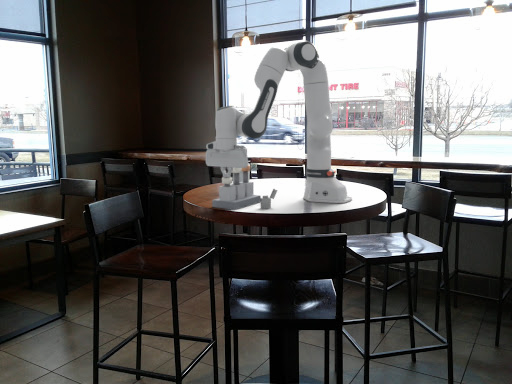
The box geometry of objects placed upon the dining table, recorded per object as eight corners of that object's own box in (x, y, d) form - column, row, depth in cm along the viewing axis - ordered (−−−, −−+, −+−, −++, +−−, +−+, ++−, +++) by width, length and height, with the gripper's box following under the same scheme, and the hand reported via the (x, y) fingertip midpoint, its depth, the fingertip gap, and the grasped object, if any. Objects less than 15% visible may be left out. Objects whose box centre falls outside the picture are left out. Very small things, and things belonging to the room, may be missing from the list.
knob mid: (243, 187, 196) (243, 166, 195) (238, 189, 193) (237, 167, 191) (235, 187, 199) (235, 166, 197) (229, 188, 195) (229, 167, 194)
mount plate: (260, 202, 202) (260, 182, 200) (234, 209, 185) (234, 188, 184) (239, 199, 208) (238, 180, 207) (212, 206, 192) (211, 186, 190)
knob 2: (252, 185, 202) (252, 165, 201) (247, 187, 199) (246, 166, 197) (244, 185, 205) (244, 164, 203) (239, 186, 201) (238, 165, 199)
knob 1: (234, 199, 191) (234, 177, 190) (228, 200, 188) (228, 178, 186) (226, 198, 194) (226, 176, 192) (220, 199, 190) (219, 177, 188)
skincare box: (232, 191, 232) (232, 163, 229) (234, 190, 238) (234, 162, 235) (248, 192, 231) (248, 163, 228) (250, 190, 237) (249, 162, 234)
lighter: (261, 208, 187) (261, 189, 186) (260, 207, 189) (260, 189, 188) (277, 207, 189) (277, 188, 188) (276, 206, 191) (276, 188, 190)
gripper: (250, 145, 184) (251, 178, 186) (212, 144, 195) (213, 175, 197) (242, 146, 179) (242, 180, 181) (203, 144, 190) (203, 176, 192)
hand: (226, 177), depth 189 cm, fingers closed, pressing on knob 1
